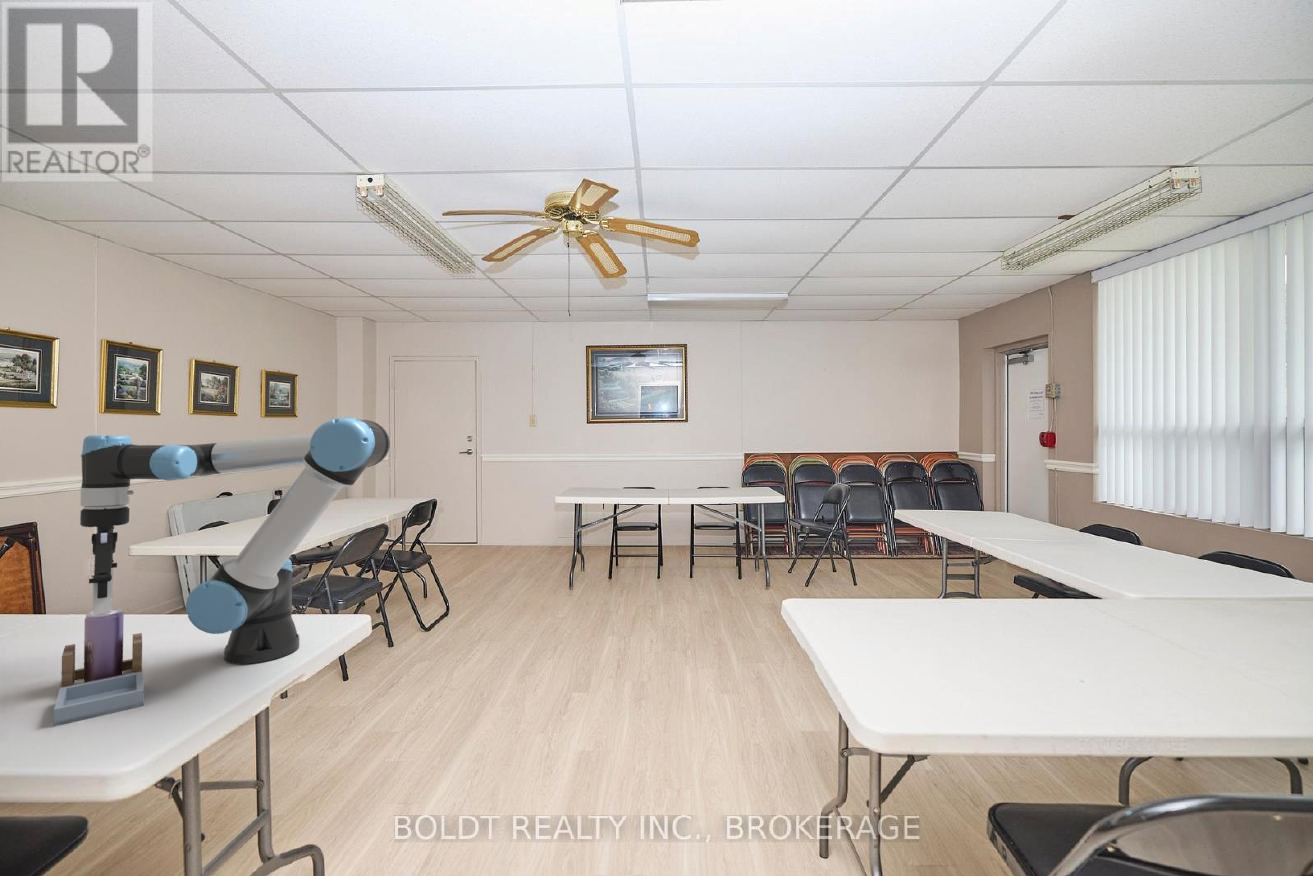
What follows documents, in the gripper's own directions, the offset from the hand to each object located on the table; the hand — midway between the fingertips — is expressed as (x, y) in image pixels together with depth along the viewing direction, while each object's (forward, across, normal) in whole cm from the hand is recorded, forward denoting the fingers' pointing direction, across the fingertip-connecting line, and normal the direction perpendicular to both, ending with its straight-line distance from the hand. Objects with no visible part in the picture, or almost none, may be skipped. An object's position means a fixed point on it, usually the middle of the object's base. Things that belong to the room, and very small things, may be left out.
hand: (103, 605), depth 121 cm
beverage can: (+16, 0, 0) cm, 16 cm away
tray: (+16, -15, 0) cm, 22 cm away
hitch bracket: (+16, 0, 0) cm, 16 cm away
